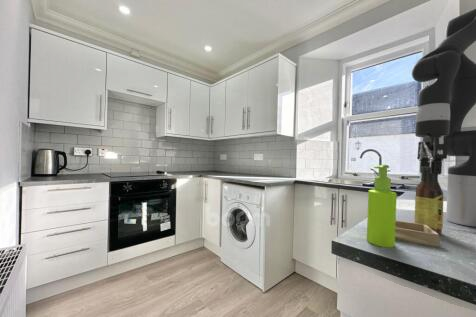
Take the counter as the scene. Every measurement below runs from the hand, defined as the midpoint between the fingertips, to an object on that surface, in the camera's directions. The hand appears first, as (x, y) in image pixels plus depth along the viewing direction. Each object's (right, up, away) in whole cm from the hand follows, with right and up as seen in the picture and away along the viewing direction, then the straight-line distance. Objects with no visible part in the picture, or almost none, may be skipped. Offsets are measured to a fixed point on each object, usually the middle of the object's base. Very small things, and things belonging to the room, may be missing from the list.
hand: (429, 173), depth 62 cm
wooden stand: (-11, -17, -5) cm, 21 cm away
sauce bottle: (-1, -18, 0) cm, 18 cm away
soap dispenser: (-23, -17, -10) cm, 30 cm away
